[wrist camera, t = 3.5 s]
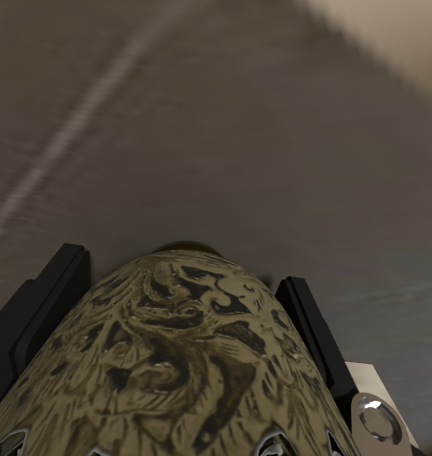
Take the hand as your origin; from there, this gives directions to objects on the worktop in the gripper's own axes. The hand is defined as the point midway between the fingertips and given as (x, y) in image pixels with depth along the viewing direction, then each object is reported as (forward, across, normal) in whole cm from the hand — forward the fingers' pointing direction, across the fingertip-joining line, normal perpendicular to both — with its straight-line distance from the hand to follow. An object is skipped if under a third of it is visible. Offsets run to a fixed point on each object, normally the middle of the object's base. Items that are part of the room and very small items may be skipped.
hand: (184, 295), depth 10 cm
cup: (+2, 0, 0) cm, 2 cm away
